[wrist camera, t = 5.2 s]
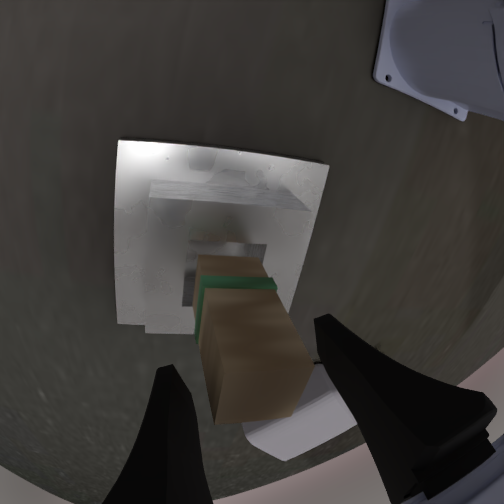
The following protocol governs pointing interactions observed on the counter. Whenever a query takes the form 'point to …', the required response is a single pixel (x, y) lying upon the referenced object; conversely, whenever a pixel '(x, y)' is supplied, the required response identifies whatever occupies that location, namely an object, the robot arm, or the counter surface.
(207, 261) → the post
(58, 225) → the counter surface
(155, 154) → the stand
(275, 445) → the charger
